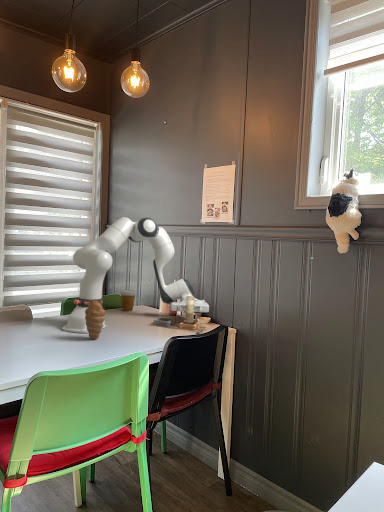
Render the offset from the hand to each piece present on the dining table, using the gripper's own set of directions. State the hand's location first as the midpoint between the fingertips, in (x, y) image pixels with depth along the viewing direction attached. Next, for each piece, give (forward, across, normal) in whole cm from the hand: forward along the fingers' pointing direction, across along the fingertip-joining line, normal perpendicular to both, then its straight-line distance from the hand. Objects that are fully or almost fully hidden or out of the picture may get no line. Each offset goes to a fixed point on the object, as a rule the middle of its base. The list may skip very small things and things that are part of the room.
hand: (190, 310), depth 195 cm
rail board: (-4, -6, +10) cm, 13 cm away
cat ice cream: (+21, -44, +11) cm, 50 cm away
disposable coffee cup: (-42, -35, +11) cm, 56 cm away
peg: (-1, 0, +9) cm, 9 cm away
